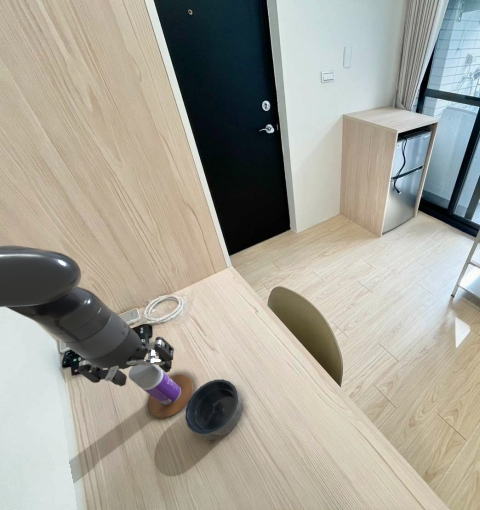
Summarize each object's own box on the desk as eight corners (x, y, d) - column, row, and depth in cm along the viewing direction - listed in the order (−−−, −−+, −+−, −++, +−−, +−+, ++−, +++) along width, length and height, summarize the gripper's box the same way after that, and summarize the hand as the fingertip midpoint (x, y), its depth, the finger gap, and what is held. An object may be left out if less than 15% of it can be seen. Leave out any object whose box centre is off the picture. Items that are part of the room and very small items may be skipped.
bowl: (193, 448, 59) (184, 442, 56) (194, 397, 67) (186, 388, 63) (245, 428, 62) (240, 421, 58) (241, 381, 70) (235, 372, 66)
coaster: (146, 424, 63) (145, 424, 62) (152, 382, 69) (151, 382, 69) (192, 408, 65) (192, 408, 65) (193, 369, 72) (193, 368, 72)
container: (185, 391, 68) (158, 366, 57) (168, 409, 65) (136, 385, 54) (173, 381, 69) (144, 354, 59) (156, 398, 66) (123, 373, 56)
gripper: (44, 370, 43) (104, 404, 54) (145, 343, 46) (181, 380, 58) (61, 330, 48) (113, 369, 59) (150, 308, 51) (183, 348, 63)
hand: (146, 374), depth 58 cm, fingers open, 8 cm apart
